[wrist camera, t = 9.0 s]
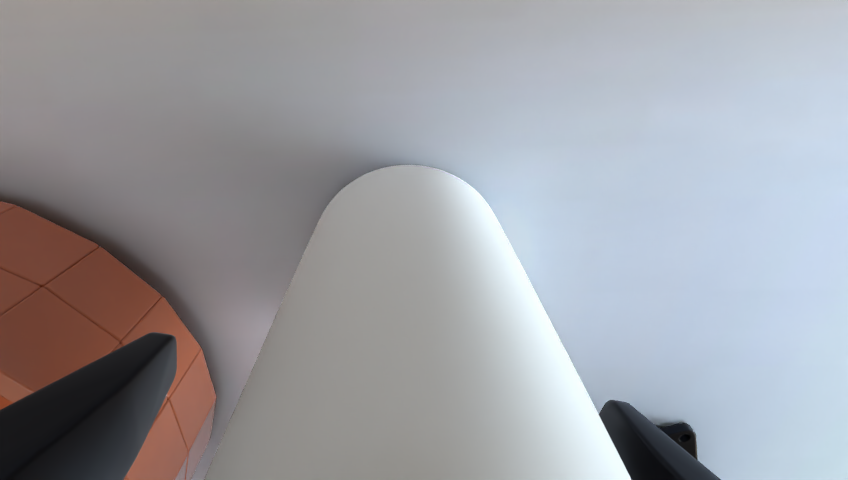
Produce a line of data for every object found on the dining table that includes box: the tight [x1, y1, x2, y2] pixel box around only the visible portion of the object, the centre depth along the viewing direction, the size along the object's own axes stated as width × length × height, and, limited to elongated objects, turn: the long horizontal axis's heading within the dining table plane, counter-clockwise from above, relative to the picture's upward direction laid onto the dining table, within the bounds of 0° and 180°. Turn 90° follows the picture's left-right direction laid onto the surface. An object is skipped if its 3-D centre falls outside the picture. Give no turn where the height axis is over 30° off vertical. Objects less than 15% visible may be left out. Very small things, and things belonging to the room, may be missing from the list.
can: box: [204, 165, 631, 480], centre depth 9 cm, size 6×6×12 cm
